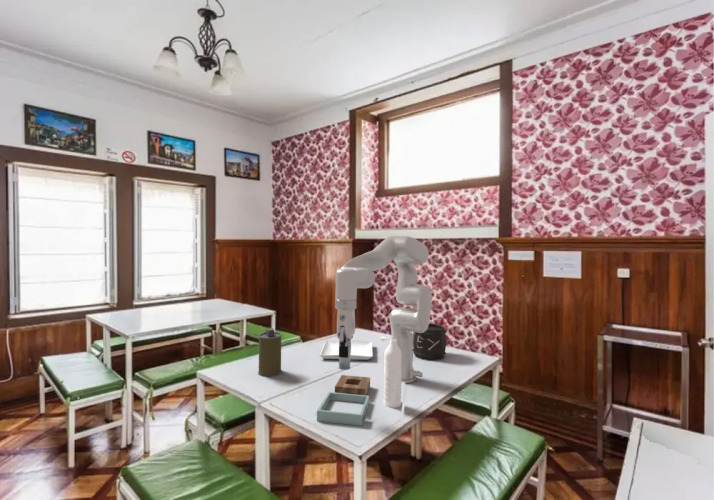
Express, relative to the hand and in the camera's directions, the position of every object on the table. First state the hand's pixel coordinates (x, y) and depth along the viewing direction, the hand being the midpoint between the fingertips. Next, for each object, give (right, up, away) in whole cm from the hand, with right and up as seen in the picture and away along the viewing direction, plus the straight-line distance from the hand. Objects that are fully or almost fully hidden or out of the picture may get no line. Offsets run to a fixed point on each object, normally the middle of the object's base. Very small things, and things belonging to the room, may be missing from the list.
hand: (344, 354), depth 131 cm
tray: (0, -21, +1) cm, 21 cm away
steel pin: (0, -5, 0) cm, 5 cm away
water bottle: (+16, -21, +7) cm, 28 cm away
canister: (-36, -19, +39) cm, 56 cm away
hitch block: (+3, -20, +17) cm, 26 cm away
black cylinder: (+43, -20, +67) cm, 82 cm away
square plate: (-1, -19, +69) cm, 72 cm away
